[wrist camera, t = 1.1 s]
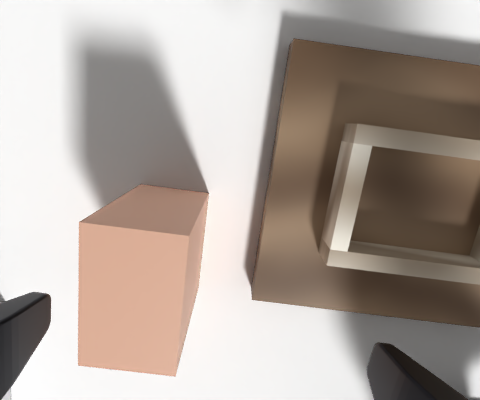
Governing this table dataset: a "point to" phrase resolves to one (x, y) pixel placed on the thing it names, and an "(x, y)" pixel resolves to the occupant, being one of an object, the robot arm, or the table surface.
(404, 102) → the socket board
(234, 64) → the table surface
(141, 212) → the key block
